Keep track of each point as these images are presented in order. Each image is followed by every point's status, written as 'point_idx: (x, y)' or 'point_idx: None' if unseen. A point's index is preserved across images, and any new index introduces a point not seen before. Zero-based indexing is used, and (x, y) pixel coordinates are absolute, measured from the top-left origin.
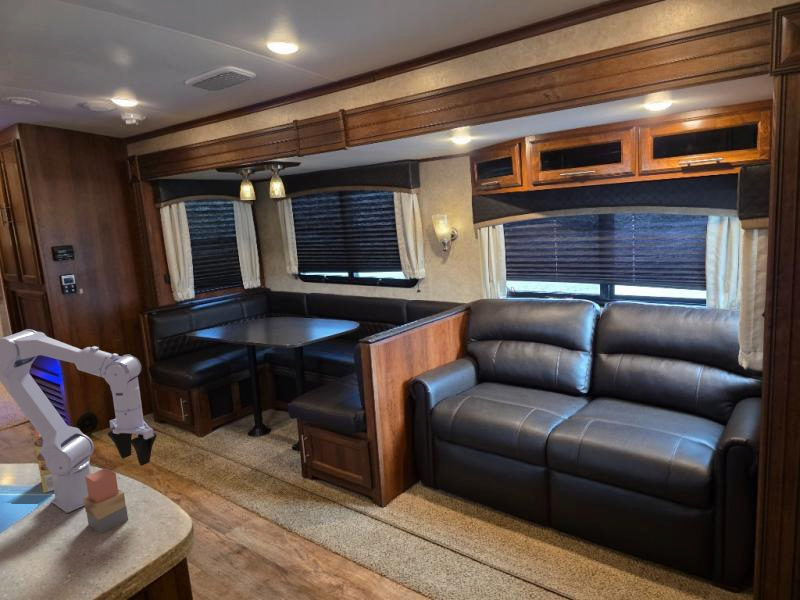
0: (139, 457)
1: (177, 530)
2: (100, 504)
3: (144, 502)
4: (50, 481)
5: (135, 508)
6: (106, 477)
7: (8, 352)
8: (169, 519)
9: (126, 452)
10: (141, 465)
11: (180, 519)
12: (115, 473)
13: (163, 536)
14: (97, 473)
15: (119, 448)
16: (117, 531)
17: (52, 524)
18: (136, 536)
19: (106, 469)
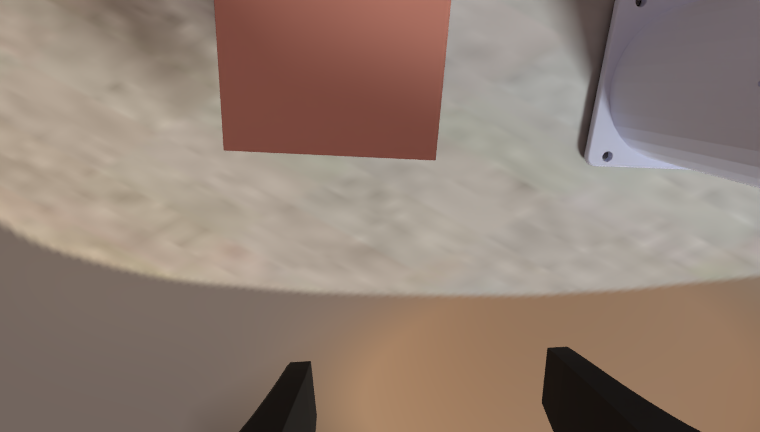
0: (255, 412)
1: (15, 198)
2: None
3: (362, 243)
4: None
5: (351, 196)
6: (221, 49)
7: None
8: (131, 226)
9: (563, 405)
10: (291, 362)
11: (92, 250)
12: (225, 147)
13: (14, 140)
14: (390, 36)
15: (608, 408)
16: None
17: None
18: (113, 74)
19: (392, 140)
